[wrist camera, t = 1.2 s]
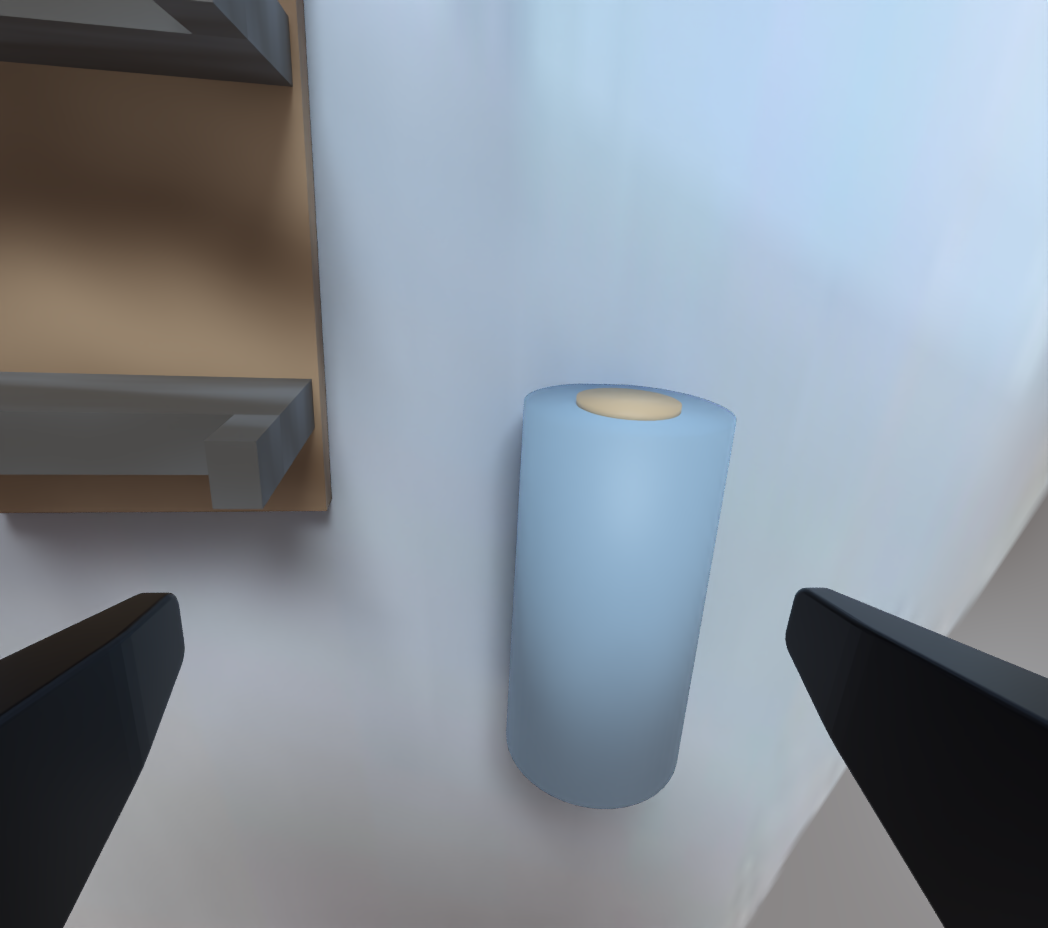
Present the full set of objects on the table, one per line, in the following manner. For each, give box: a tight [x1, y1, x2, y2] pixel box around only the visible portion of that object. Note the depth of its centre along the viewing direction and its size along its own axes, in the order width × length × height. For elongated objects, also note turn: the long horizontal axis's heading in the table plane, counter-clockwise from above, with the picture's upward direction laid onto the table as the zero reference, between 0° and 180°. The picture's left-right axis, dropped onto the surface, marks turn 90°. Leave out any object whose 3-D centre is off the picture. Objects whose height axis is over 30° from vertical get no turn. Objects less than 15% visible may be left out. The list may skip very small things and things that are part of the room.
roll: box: [506, 384, 736, 809], centre depth 20 cm, size 12×6×6 cm, turn 177°
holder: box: [0, 0, 332, 513], centre depth 14 cm, size 16×10×7 cm, turn 177°
